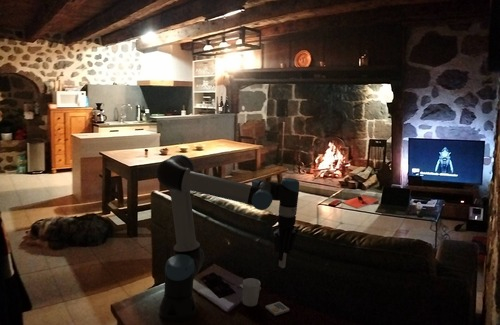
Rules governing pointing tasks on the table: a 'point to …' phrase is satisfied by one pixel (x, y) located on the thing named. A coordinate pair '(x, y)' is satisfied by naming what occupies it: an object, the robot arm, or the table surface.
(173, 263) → the robot arm
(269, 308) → the placard
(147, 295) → the table surface
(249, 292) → the white cup
